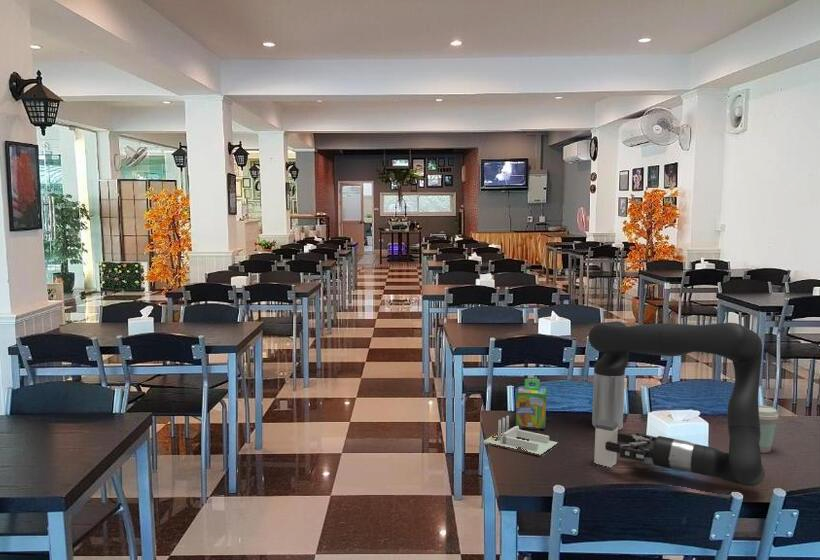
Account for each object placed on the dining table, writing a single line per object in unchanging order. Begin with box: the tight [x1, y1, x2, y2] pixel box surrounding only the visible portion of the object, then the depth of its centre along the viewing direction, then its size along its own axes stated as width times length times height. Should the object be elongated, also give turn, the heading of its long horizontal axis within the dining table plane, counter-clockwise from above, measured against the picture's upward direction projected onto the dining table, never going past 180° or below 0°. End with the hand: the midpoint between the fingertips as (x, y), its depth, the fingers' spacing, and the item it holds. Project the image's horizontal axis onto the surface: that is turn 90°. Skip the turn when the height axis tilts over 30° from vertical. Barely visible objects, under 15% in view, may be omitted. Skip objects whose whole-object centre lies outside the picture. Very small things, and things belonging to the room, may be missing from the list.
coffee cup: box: [758, 404, 779, 454], centre depth 190 cm, size 9×8×12 cm
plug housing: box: [593, 420, 619, 469], centre depth 179 cm, size 4×4×11 cm
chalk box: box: [515, 378, 548, 429], centre depth 210 cm, size 9×9×15 cm
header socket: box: [482, 415, 559, 455], centre depth 193 cm, size 12×18×7 cm, turn 55°
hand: (611, 441), depth 178 cm, fingers open, 8 cm apart
